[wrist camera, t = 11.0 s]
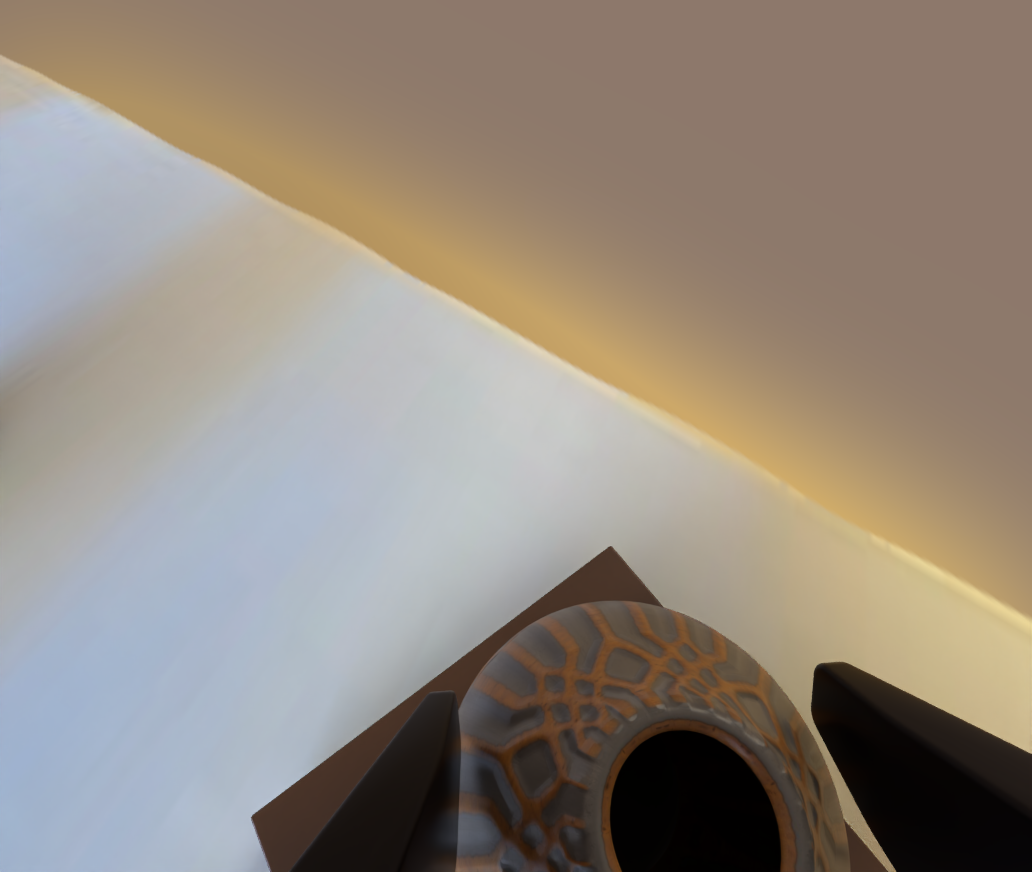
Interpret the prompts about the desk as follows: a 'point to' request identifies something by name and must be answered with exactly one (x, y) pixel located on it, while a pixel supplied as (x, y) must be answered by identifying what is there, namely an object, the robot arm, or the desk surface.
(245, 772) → the desk surface
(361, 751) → the riser board
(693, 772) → the vase
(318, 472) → the desk surface
